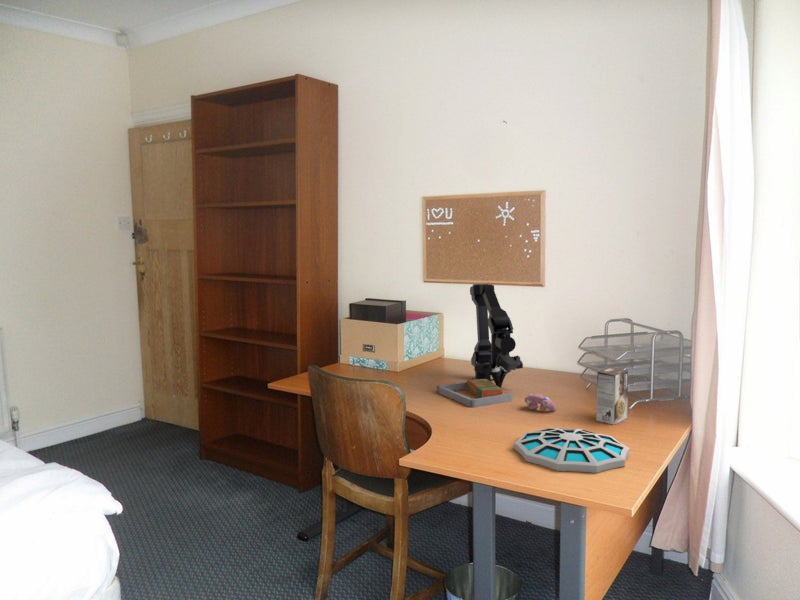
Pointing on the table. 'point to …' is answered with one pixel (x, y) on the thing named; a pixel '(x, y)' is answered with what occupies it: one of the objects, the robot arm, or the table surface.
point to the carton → (483, 388)
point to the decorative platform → (572, 450)
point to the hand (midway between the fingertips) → (498, 388)
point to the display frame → (449, 392)
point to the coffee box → (612, 395)
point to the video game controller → (540, 402)
